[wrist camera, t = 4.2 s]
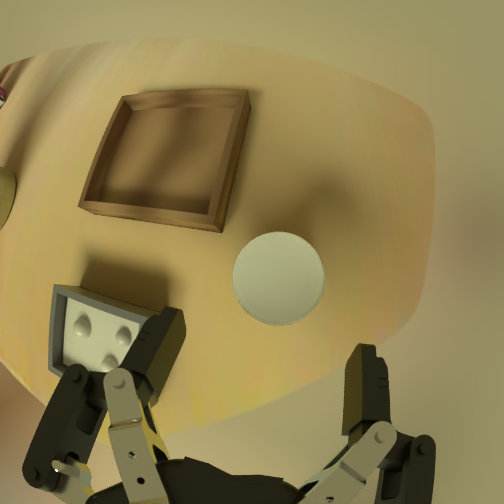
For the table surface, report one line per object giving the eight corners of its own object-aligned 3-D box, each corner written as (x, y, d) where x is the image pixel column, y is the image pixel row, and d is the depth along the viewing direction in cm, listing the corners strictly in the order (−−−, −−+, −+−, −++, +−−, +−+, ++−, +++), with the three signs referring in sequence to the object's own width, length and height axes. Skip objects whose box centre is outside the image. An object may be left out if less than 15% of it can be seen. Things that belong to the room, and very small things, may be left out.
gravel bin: (71, 364, 20) (48, 369, 17) (78, 286, 22) (53, 284, 18) (157, 403, 19) (137, 418, 16) (168, 314, 20) (148, 317, 17)
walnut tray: (94, 214, 22) (77, 206, 20) (132, 109, 24) (122, 96, 22) (222, 233, 21) (213, 224, 18) (251, 108, 22) (247, 90, 20)
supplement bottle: (273, 238, 20) (267, 200, 12) (325, 275, 19) (355, 262, 11) (235, 291, 20) (202, 288, 12) (286, 329, 19) (289, 354, 11)
